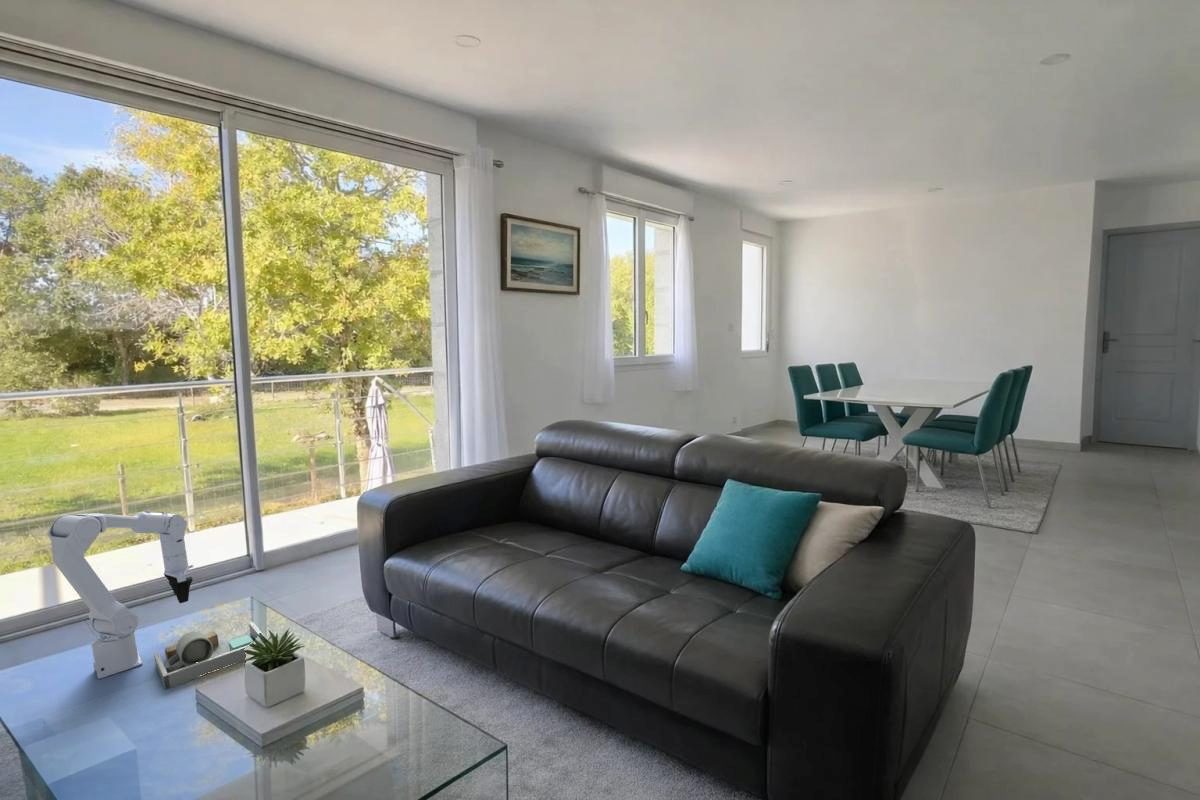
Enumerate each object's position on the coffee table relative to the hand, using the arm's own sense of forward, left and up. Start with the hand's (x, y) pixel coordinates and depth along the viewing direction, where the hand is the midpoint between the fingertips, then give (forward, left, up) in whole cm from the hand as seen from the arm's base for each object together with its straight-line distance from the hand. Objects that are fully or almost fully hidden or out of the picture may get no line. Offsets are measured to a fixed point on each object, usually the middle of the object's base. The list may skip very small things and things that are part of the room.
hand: (181, 597), depth 189 cm
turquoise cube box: (+9, -25, -11) cm, 29 cm away
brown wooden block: (-1, -16, -11) cm, 19 cm away
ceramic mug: (-3, -22, -11) cm, 25 cm away
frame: (+2, -24, -10) cm, 26 cm away
